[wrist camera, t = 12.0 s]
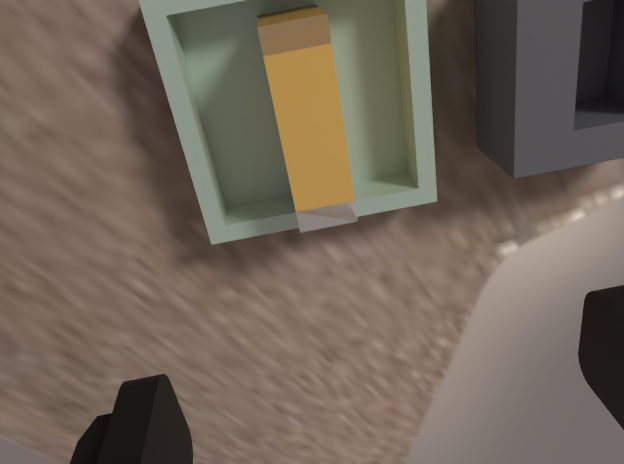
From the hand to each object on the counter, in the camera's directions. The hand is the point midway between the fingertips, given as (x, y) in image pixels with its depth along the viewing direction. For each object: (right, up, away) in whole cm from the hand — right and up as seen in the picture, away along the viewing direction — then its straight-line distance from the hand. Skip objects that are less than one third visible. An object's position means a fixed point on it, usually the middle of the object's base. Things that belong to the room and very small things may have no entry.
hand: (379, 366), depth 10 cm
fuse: (-1, +4, +19) cm, 19 cm away
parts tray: (-2, +10, +19) cm, 22 cm away
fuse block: (+13, +13, +19) cm, 26 cm away
